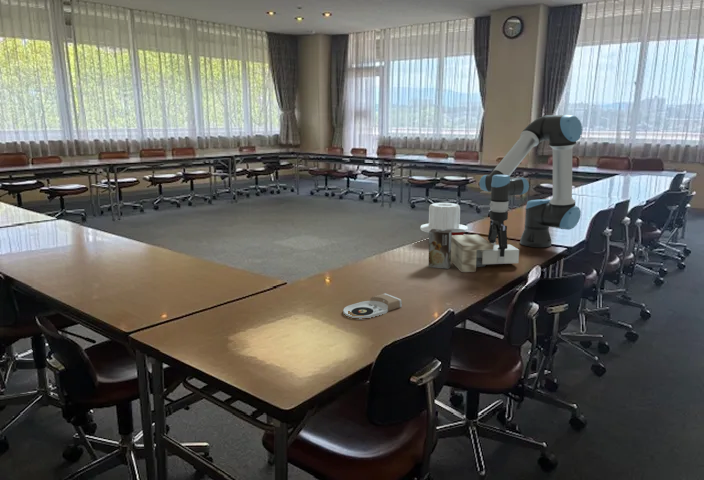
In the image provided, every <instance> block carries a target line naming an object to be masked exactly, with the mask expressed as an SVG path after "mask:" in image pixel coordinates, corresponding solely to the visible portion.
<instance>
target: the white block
mask: <svg viewBox="0 0 704 480" xmlns="http://www.w3.org/2000/svg"><path fill="white" fill-rule="evenodd" d="M498 248H499V244H496V245H493V249H490V250H477V256H476V258H478V257H481V258H482V264H485V265H499V264H498V263H497V262H498ZM519 258H520V249H518V248H517V247H515V246H514V245H512V244H508V243H507V249H505V257H504V264H505V265H507V264H519Z"/></svg>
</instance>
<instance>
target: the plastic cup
mask: <svg viewBox="0 0 704 480" xmlns="http://www.w3.org/2000/svg"><path fill="white" fill-rule="evenodd" d="M443 230H452V235H465V233H466V232H465V230H464V229H443Z"/></svg>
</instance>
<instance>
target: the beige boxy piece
mask: <svg viewBox="0 0 704 480" xmlns="http://www.w3.org/2000/svg"><path fill="white" fill-rule="evenodd" d="M490 249H493V244H491V243H490V242H489V240H488V239H485V238H483V237H482V236H481V235H480V234H464V235H452V236H451V264H453V266H455V267H456V268H457V269H458V270H459V271H460V272H462V273H470V272H471V273H475V272H476V271H477V268H483V267H485V268H486V264H482V258H481V257H478V258H476V256H477V250H490Z"/></svg>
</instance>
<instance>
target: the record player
mask: <svg viewBox="0 0 704 480" xmlns="http://www.w3.org/2000/svg"><path fill="white" fill-rule="evenodd" d="M402 303H403V302H402V299H401V298H398V297H397V296H394V295H391V294H388V293H386V292H384V293H381V294H378V295H374V296H372V297H370V300H365V301H364V300H363V301H360V302H356V303H353V304H349V305H346V306H345V307H343V311H342V312H343V315H344V314H345V315H346V316H349V317H352V318H359V319H358V320H363V319H362V318H370V319H372V318H371V317H373V318H376V317H375V316H377V317H379V315H380V316H382V314H383V315H385V314H387V313H388V312H390V311H393V310H397V309H399V308H402V305H403V304H402ZM348 311H350V312H352V313H353V314H355V315H364V316H352V315H350V314H348ZM345 315H344V316H345ZM346 316H345V317H346ZM349 317H348V318H349ZM352 318H351V319H352Z"/></svg>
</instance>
